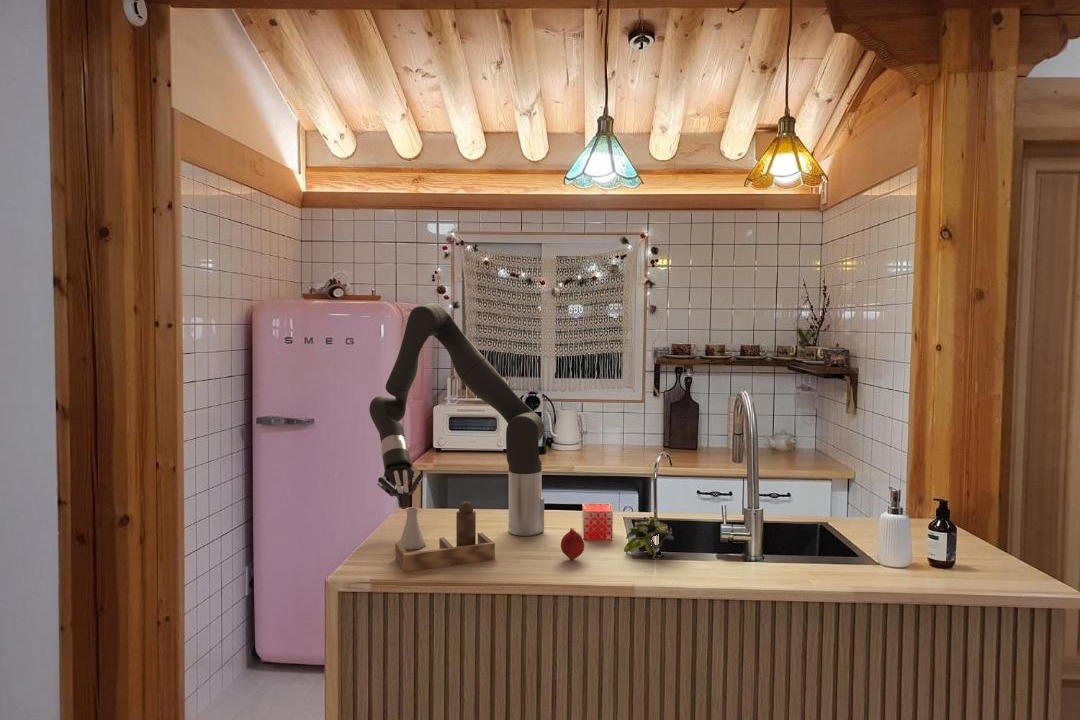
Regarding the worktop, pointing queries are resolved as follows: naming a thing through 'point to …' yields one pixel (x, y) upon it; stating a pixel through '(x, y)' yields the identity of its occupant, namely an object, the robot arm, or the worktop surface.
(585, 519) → the red patterned cube
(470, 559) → the rack
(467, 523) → the pepper mill
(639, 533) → the green leafy plant
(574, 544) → the onion
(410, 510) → the flask
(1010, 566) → the worktop surface
